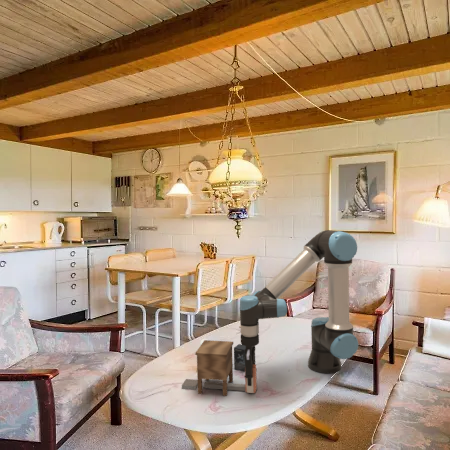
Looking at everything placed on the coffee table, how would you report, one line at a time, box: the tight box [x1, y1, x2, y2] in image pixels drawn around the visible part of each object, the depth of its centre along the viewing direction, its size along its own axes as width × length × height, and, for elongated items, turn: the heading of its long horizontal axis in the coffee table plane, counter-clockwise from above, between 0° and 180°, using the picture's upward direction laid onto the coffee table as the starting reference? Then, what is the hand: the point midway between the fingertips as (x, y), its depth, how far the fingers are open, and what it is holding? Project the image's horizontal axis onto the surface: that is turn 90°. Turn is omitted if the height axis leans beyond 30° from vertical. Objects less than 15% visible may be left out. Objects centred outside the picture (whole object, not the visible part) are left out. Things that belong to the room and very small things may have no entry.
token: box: [181, 378, 198, 391], centre depth 167 cm, size 6×6×2 cm
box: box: [233, 343, 246, 372], centre depth 183 cm, size 8×6×11 cm
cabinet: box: [194, 339, 234, 397], centre depth 165 cm, size 13×15×17 cm
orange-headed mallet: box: [203, 363, 258, 394], centre depth 163 cm, size 22×4×10 cm, turn 78°
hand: (251, 389), depth 162 cm, fingers closed on orange-headed mallet, 4 cm apart
